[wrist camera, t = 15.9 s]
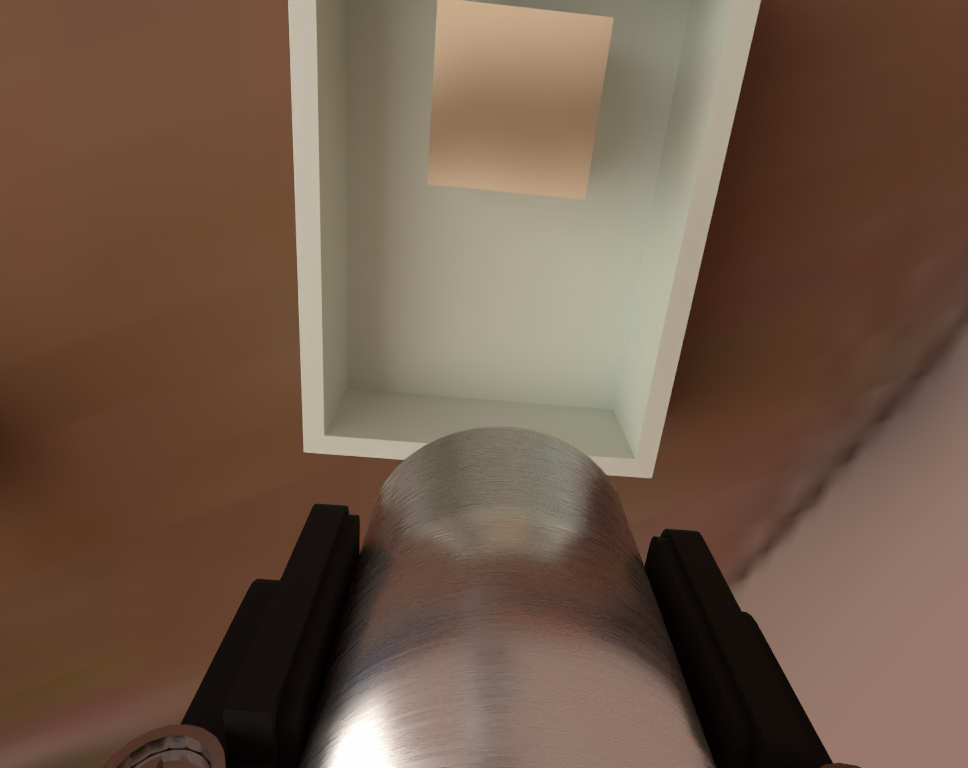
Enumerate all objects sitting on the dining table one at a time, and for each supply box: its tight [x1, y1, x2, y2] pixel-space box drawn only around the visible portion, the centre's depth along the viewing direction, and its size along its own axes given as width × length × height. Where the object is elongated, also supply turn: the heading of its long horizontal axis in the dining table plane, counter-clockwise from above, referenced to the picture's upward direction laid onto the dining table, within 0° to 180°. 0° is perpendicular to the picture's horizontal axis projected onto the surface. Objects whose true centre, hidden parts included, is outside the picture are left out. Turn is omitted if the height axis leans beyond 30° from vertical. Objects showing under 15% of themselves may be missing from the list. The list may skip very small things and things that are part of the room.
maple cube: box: [427, 0, 614, 200], centre depth 20 cm, size 5×5×5 cm
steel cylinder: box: [298, 426, 716, 768], centre depth 9 cm, size 5×5×7 cm
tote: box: [288, 0, 761, 478], centre depth 23 cm, size 18×14×5 cm
